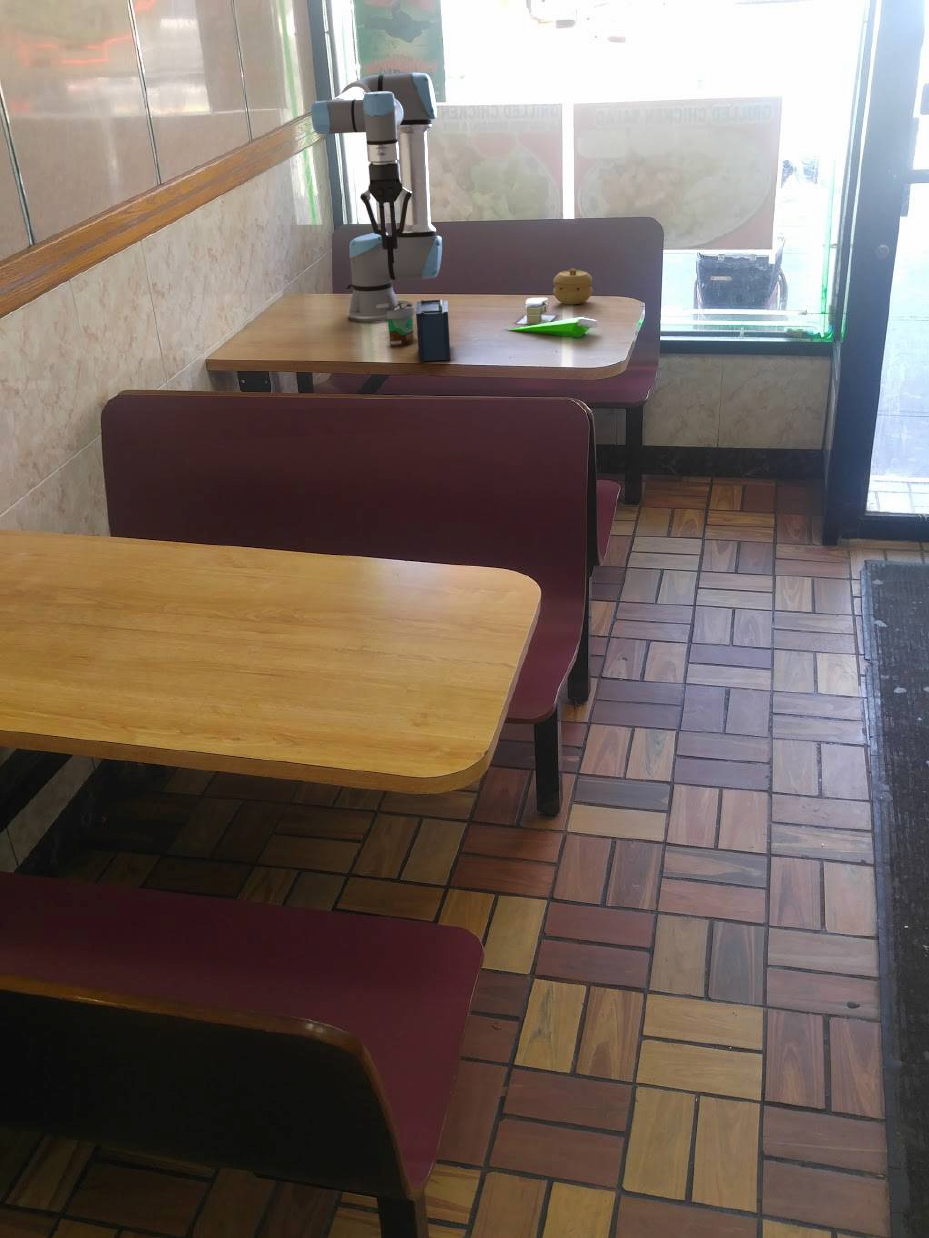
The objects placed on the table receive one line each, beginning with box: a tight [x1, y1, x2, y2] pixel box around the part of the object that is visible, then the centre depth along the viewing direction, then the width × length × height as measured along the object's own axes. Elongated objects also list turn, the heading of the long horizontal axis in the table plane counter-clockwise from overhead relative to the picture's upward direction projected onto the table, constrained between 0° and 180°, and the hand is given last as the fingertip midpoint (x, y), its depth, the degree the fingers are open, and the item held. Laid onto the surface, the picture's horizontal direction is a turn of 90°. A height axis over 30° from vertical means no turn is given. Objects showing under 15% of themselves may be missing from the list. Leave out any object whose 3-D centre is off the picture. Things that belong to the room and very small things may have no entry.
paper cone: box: [509, 316, 599, 339], centre depth 308 cm, size 11×5×25 cm
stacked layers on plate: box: [516, 297, 557, 325], centre depth 321 cm, size 10×9×6 cm
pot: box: [552, 268, 594, 305], centre depth 336 cm, size 12×12×10 cm
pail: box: [415, 298, 451, 364], centre depth 293 cm, size 13×8×13 cm, turn 1°
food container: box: [387, 300, 416, 348], centre depth 306 cm, size 12×6×10 cm, turn 168°
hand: (391, 262), depth 284 cm, fingers closed
